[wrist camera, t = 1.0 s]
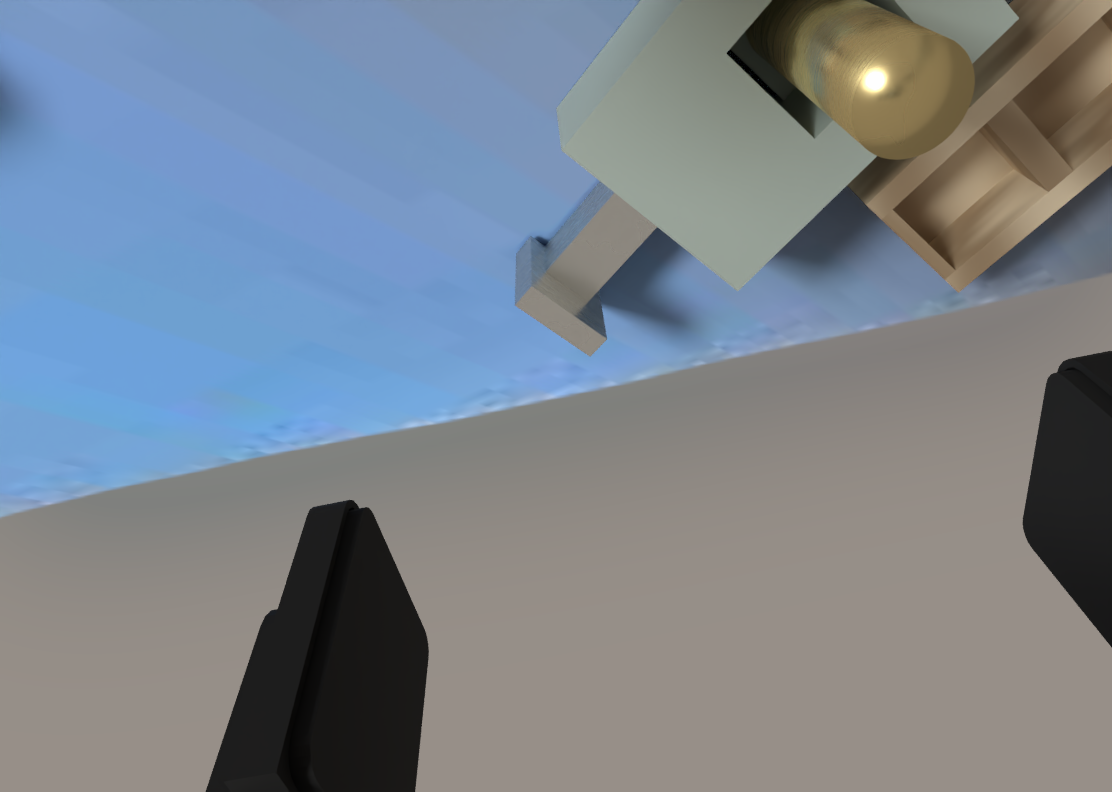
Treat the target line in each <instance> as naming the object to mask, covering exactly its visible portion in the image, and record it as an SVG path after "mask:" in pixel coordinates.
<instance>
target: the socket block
mask: <svg viewBox="0 0 1112 792" xmlns="http://www.w3.org/2000/svg"><path fill="white" fill-rule="evenodd" d="M771 1H772V0H640V2H639V3H638V4H637V5H636V7H635V8H634V9H633V11H632V12H631V13H630V14H629V16H628V17H627V18H626V20H625V21H624V22H623V23H622V25H621V26H620V27H619V29H618V30H617V31H616V32H615V34H614V35H613V36H612V38H611V39H610V40H609V41H608V43H607V44H606V45H605V47H604V48H603V49H602V50H601V52H600V53H599V54H598V56H597V57H596V58H595V59H594V61H593V62H592V63H591V65H590V66H589V67H588V68H587V70H586V71H585V72H584V74H583V75H582V76H581V77H580V79H579V80H578V81H577V83H576V84H575V85H574V86H573V88H572V89H571V90H570V91H569V93H568V94H567V95H566V97H565V98H564V99H563V100H562V102H561V103H560V104H559V106H558V107H557V108H556V109H557V117H558V125H559V134H560V142H561V150H562V151H563V152H564V153H566V154H567V155H568V156H569V157H571V158H572V159H573V160H574V161H576V162H577V163H578V164H579V165H581V166H582V167H583V168H584V169H586V170H587V171H588V172H589V173H591V174H592V175H593V176H594V177H596V178H597V179H598V180H599V181H601V182H602V183H603V184H604V185H606V186H607V187H608V188H609V189H611V190H612V191H613V192H614V193H616V194H617V195H618V196H619V197H621V198H622V199H623V200H624V201H626V202H627V203H628V204H629V205H631V206H632V207H633V208H634V209H636V210H637V211H638V212H639V213H641V214H642V215H643V216H644V217H646V218H647V219H648V220H649V221H651V222H652V223H653V224H654V225H656V226H657V227H658V228H659V229H661V230H662V231H663V232H664V233H666V234H667V235H668V236H669V237H671V238H672V239H673V240H674V241H676V242H677V243H678V244H679V245H681V246H682V247H683V248H684V249H686V250H687V251H688V252H689V253H691V254H692V255H693V256H694V257H696V258H697V259H698V260H699V261H701V262H702V263H703V264H704V265H706V266H707V267H708V268H709V269H711V270H712V271H713V272H714V273H716V274H717V275H718V276H719V277H721V278H722V279H723V280H724V281H726V282H727V283H728V284H729V285H731V286H732V287H733V288H734V289H736V290H737V291H739V290H740V289H741V288H742V287H743V286H744V285H745V284H746V283H747V282H748V281H749V280H750V279H751V278H752V277H753V276H754V275H755V274H756V273H757V272H758V271H759V270H760V269H761V268H762V267H763V266H764V265H765V264H766V263H767V262H768V261H769V260H771V259H772V258H773V257H774V256H775V255H776V254H777V253H778V252H779V251H780V250H781V249H782V248H783V247H784V246H785V245H786V244H787V243H788V242H789V241H790V240H791V239H792V238H793V237H794V236H795V235H796V234H797V233H798V232H799V231H800V230H801V229H803V228H804V227H805V226H806V225H807V224H808V223H809V222H810V221H811V220H812V219H813V218H814V217H815V216H816V215H817V214H818V213H819V212H820V211H821V210H822V209H823V208H824V207H825V206H826V205H827V204H828V203H829V202H830V201H831V200H832V199H833V198H835V197H836V196H837V195H838V194H839V193H840V192H841V191H842V190H843V189H844V188H845V187H846V186H847V185H848V184H849V183H850V182H851V181H852V180H853V179H854V178H855V177H856V176H857V175H858V174H859V173H860V172H861V171H862V170H863V169H864V168H865V167H867V166H868V165H869V164H870V163H871V162H872V161H873V160H874V159H875V158H876V157H877V156H876V155H874V154H873V153H871V152H869V151H868V150H867V149H866V148H864V147H863V146H862V145H861V144H860V143H859V142H858V141H857V140H855V139H854V138H853V137H852V136H851V135H850V134H849V133H847V132H846V131H845V130H844V129H843V128H842V127H841V126H839V125H838V124H837V123H836V122H835V121H834V120H833V119H831V118H830V117H829V116H828V115H827V114H826V113H825V112H824V111H822V110H821V109H820V108H819V107H818V106H817V105H816V104H814V103H813V102H812V101H811V100H810V99H809V98H808V97H806V96H805V95H804V94H803V93H802V92H801V91H800V90H798V89H797V88H796V87H795V86H794V85H793V84H792V83H791V82H789V81H788V80H787V79H786V78H785V77H784V76H783V75H781V74H780V73H779V72H778V71H777V70H776V69H775V68H773V67H772V66H771V65H770V64H769V63H768V62H767V61H765V60H764V59H763V58H762V57H761V56H760V55H759V54H758V53H756V52H755V51H754V49H753V48H752V47H751V45H750V44H749V41H748V39H747V36H746V32H745V31H746V30H747V29H748V28H749V27H750V25H751V24H752V23H753V22H754V21H755V20H756V18H757V17H758V16H759V15H760V14H761V13H762V11H763V10H764V9H765V8H766V7H767V6H768V4H769V3H770V2H771ZM865 1H867V2H869V3H871V4H874V5H876V6H878V7H880V8H883V9H885V10H887V11H889V12H891V13H894V14H896V15H898V16H900V17H903V18H905V19H907V20H909V21H912V22H914V23H916V24H918V25H921V26H923V27H925V28H927V29H930V30H932V31H934V32H936V33H938V34H941V35H943V36H945V37H947V38H950V39H952V40H954V41H955V42H957V43H958V44H959V45H960V46H961V47H962V48H963V49H964V50H965V51H966V52H967V54H968V55H969V58H970V60H971V62H972V64H973V63H974V62H975V61H976V60H977V59H978V58H979V57H980V56H981V55H982V54H983V53H984V52H985V51H986V50H987V49H988V48H989V47H990V46H991V45H992V44H993V43H994V42H996V41H997V40H998V39H999V38H1000V37H1001V36H1002V35H1003V34H1004V33H1005V32H1006V31H1007V30H1008V29H1009V28H1010V27H1011V26H1012V25H1013V24H1014V23H1015V22H1016V21H1017V20H1018V19H1019V17H1018V16H1017V15H1016V14H1015V12H1014V11H1013V10H1012V9H1011V7H1010V6H1009V5H1008V4H1007V2H1006V1H1005V0H865ZM730 49H731V50H732V51H733V52H734V53H735V54H736V55H737V56H738V57H739V58H740V59H741V60H742V61H743V62H744V63H745V64H746V65H747V66H748V67H749V68H750V69H752V70H753V71H754V72H755V73H756V74H757V75H758V76H759V77H760V78H761V79H762V80H763V81H764V82H765V83H766V84H767V85H768V86H769V87H770V88H771V89H772V90H773V91H774V92H775V93H776V94H777V96H776V98H773V97H772V96H771V95H770V94H769V93H768V92H767V91H766V90H765V89H763V88H762V87H761V86H760V85H759V84H758V83H757V82H756V81H755V80H754V79H753V78H752V77H751V76H750V75H749V74H747V73H746V72H745V71H744V70H743V69H742V68H741V67H740V66H739V65H738V64H737V63H736V62H735V61H734V60H733V59H732V58H731V57H730V56H729V55H728V54H727V52H728V51H729V50H730Z"/></svg>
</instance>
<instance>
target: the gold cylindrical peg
mask: <svg viewBox="0 0 1112 792" xmlns="http://www.w3.org/2000/svg"><path fill="white" fill-rule="evenodd" d="M745 32H746V36H747V39H748V41H749V44H750V45H751V47H752V48H753V49H754V51H755V52H756V53H758V54H759V55H760V56H761V57H762V58H763V59H764V60H765V61H767V62H768V63H769V64H770V65H771V66H772V67H773V68H775V69H776V70H777V71H778V72H779V73H780V74H781V75H783V76H784V77H785V78H786V79H787V80H788V81H789V82H791V83H792V84H793V85H794V86H795V87H796V88H797V89H798V90H800V91H801V92H802V93H803V94H804V95H805V96H806V97H808V98H809V99H810V100H811V101H812V102H813V103H814V104H816V105H817V106H818V107H819V108H820V109H821V110H822V111H824V112H825V113H826V114H827V115H828V116H829V117H830V118H831V119H833V120H834V121H835V122H836V123H837V124H838V125H839V126H841V127H842V128H843V129H844V130H845V131H846V132H847V133H849V134H850V135H851V136H852V137H853V138H854V139H855V140H857V141H858V142H859V143H860V144H861V145H862V146H863V147H864V148H866V149H867V150H868V151H869V152H871V153H873V154H874V155H876V156H879V157H881V158H886V159H893V160H900V159H908V158H913V157H916V156H919V155H921V154H924V153H926V152H928V151H930V150H932V149H933V148H935V147H936V146H938V145H939V144H941V143H942V142H943V141H944V140H946V139H947V138H948V137H949V136H950V135H951V134H952V133H953V132H954V131H955V129H956V128H957V127H958V125H959V124H960V123H961V121H962V120H963V118H964V116H965V114H966V113H967V111H968V108H969V106H970V103H971V101H972V97H973V93H974V85H975V75H974V68H973V65H972V62H971V60H970V58H969V55H968V54H967V52H966V51H965V50H964V49H963V48H962V47H961V46H960V45H959V44H958V43H957V42H955V41H954V40H952V39H950V38H947V37H945V36H943V35H941V34H938V33H936V32H934V31H932V30H930V29H927V28H925V27H923V26H921V25H918V24H916V23H914V22H912V21H909V20H907V19H905V18H903V17H900V16H898V15H896V14H894V13H891V12H889V11H887V10H885V9H883V8H880V7H878V6H876V5H874V4H871V3H869V2H867V1H865V0H772V1H771V2H770V3H769V4H768V6H767V7H766V8H765V9H764V10H763V11H762V13H761V14H760V15H759V16H758V17H757V18H756V20H755V21H754V22H753V23H752V24H751V25H750V27H749V28H748V29H747V30H746V31H745Z"/></svg>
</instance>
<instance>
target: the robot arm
mask: <svg viewBox="0 0 1112 792" xmlns="http://www.w3.org/2000/svg"><path fill="white" fill-rule="evenodd" d="M1023 529H1024V533H1025V536H1026V538H1027V541H1028V543H1029V544H1030V546H1031V547H1032V549H1033V550H1034V551H1035V552H1036V554H1037V555H1038V556H1039V557H1040V559H1041V560H1042V561H1043V562H1044V564H1045V565H1046V566H1047V567H1048V569H1049V570H1050V571H1051V572H1052V574H1053V575H1054V576H1055V577H1056V579H1057V580H1058V581H1059V582H1060V584H1061V585H1062V586H1063V587H1064V588H1065V589H1066V591H1067V592H1068V594H1069V595H1070V596H1071V597H1072V598H1073V600H1074V601H1075V602H1076V603H1077V604H1078V606H1079V607H1080V608H1081V610H1082V611H1083V612H1084V613H1085V615H1086V616H1087V617H1088V618H1089V620H1090V621H1091V622H1092V623H1093V625H1094V626H1095V627H1096V628H1097V630H1098V631H1099V632H1100V633H1101V635H1102V636H1103V637H1104V638H1105V639H1106V641H1107V642H1108V643H1109V644H1110V646H1111V647H1112V351H1108V352H1103V353H1097V354H1093V355H1087V356H1082V357H1077V358H1072V359H1068V360H1066V361H1063V362H1062V364H1061V365H1060V366H1059V369H1058V372H1057V373H1053V374H1051V375H1050V377H1049V378H1048V380H1047V383H1046V389H1045V394H1044V400H1043V406H1042V412H1041V417H1040V423H1039V429H1038V435H1037V440H1036V446H1035V452H1034V458H1033V464H1032V470H1031V475H1030V481H1029V487H1028V493H1027V499H1026V504H1025V510H1024V516H1023ZM428 653H429V650H428V641H427V636H426V632H425V629H424V627H423V625H422V623H421V620H420V618H419V616H418V614H417V611H416V609H415V607H414V605H413V602H412V600H411V598H410V596H409V594H408V591H407V589H406V587H405V584H404V582H403V580H402V578H401V575H400V573H399V571H398V569H397V566H396V564H395V562H394V560H393V557H392V555H391V553H390V551H389V548H388V546H387V544H386V542H385V539H384V537H383V535H382V533H381V530H380V528H379V526H378V524H377V521H376V519H375V517H374V515H373V513H372V511H371V510H370V509H369V508H367V507H365V508H360V509H359V507H358V505H357V504H356V503H355V502H354V501H353V500H347V501H343V502H337V503H332V504H327V505H322V506H317V507H313V508H312V509H310V511H309V513H308V515H307V518H306V521H305V525H304V528H303V531H302V534H301V537H300V540H299V543H298V547H297V550H296V553H295V556H294V559H293V563H292V566H291V569H290V572H289V575H288V578H287V581H286V585H285V588H284V591H283V594H282V597H281V601H280V604H279V607H278V609H277V610H272V611H270V612H269V613H268V614H267V615H266V616H265V618H264V620H263V622H262V625H261V627H260V630H259V633H258V636H257V639H256V642H255V645H254V648H253V651H252V654H251V657H250V660H249V663H248V666H247V669H246V672H245V675H244V678H243V681H242V684H241V687H240V690H239V693H238V696H237V699H236V702H235V705H234V708H233V711H232V714H231V717H230V720H229V723H228V726H227V729H226V732H225V735H224V738H223V741H222V744H221V747H220V750H219V753H218V756H217V759H216V762H215V765H214V768H213V771H212V774H211V777H210V780H209V784H208V786H207V790H206V792H415V787H416V777H417V767H418V757H419V747H420V737H421V726H422V717H423V707H424V697H425V687H426V676H427V667H428Z"/></svg>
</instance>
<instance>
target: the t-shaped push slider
mask: <svg viewBox="0 0 1112 792" xmlns="http://www.w3.org/2000/svg"><path fill="white" fill-rule="evenodd" d="M656 228H657V226H656V225H654V224H653V223H652V222H651V221H649V220H648V219H647V218H646V217H644V216H643V215H642V214H641V213H639V212H638V211H637V210H636V209H634V208H633V207H632V206H631V205H629V204H628V203H627V202H626V201H624V200H623V199H622V198H621V197H619V196H618V195H617V194H616V193H614V192H613V191H612V190H611V189H609V188H608V187H607V186H606V185H604V184H603V183H602V182H601V181H600V182H599V184H598V185H597V186H596V187H595V188H594V189H593V191H592V192H591V193H590V194H589V195H588V196H587V198H586V199H585V200H584V201H583V202H582V204H581V205H580V206H579V207H578V208H577V209H576V211H575V212H574V213H573V214H572V215H571V216H570V218H569V219H568V220H567V221H566V222H565V223H564V225H563V226H562V227H561V228H560V229H559V231H558V232H557V233H556V234H555V235H554V236H553V238H552V239H551V240H550V241H549V242H548V243H547V245H546V246H544V245H542V244H541V243H540V242H538V241H537V240H536V239H534V238H533V237H531V236H530V237H529V239H528V240H527V241H526V242H525V243H524V245H523V246H522V247H521V248H520V249H519V251H518V252H517V253H516V279H515V306H517V307H518V308H520V309H521V310H523V311H524V312H525V313H527V314H528V315H530V316H531V317H533V318H534V319H536V320H537V321H539V322H540V323H542V324H543V325H545V326H546V327H547V328H549V329H550V330H552V331H553V332H555V333H556V334H558V335H559V336H561V337H562V338H564V339H565V340H567V341H568V342H569V343H571V344H572V345H574V346H575V347H577V348H578V349H580V350H581V351H583V352H584V353H586V354H587V355H589V356H591V355H592V354H593V353H594V352H595V351H596V350H597V349H598V348H599V347H600V346H601V345H602V344H603V343H604V342H605V341H606V340H607V335H606V330H605V324H604V318H603V312H602V306H601V300H600V294H599V290H600V288H601V287H602V286H603V285H604V284H605V283H606V282H607V281H608V280H609V279H610V278H611V277H612V275H613V274H614V273H615V272H616V271H617V270H618V269H619V268H620V267H621V266H622V265H623V264H624V262H625V261H626V260H627V259H628V258H629V257H630V256H631V255H632V254H633V253H634V252H635V251H636V249H637V248H638V247H639V246H640V245H641V244H642V243H643V242H644V241H645V240H646V239H647V238H648V236H649V235H650V234H651V233H652V232H653V231H654V230H655V229H656Z"/></svg>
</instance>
